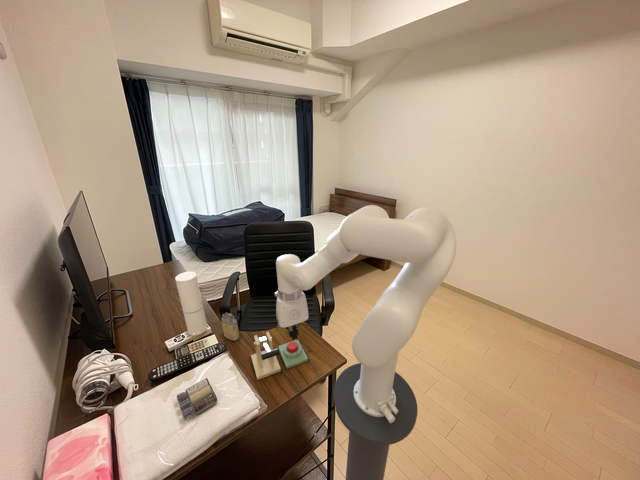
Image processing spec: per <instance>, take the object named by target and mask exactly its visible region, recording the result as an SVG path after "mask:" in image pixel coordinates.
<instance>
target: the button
mask: <svg viewBox="0 0 640 480" xmlns="http://www.w3.org/2000/svg"><path fill="white" fill-rule="evenodd" d="M287 343H288V345H287V350H288V352H290V353H294V352H296V351H297V343H296V342H292V341H289V342H287Z"/></svg>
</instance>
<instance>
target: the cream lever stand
mask: <svg viewBox="0 0 640 480" xmlns="http://www.w3.org/2000/svg"><path fill="white" fill-rule="evenodd" d="M265 337H266V338H267V342H268V347H269V349H270V350H274V346H273V337H272V336H271V333H270V331H266V332H265ZM253 340H254V342H253V346H254V348H255V353H254V354H250V359H251V362H252V365H253V366H252V367H253V369H254V374H255V376H256V380H257V381H258V380H259V381H260V380H262V379H264V378H267V377H269V376H272V375H275V374H277V373H279V372H281V371H282V368H281V365H280V363H279V360H278V358H277V356H274V357H271V358H268V359H265V360H262V358H261V354H263V353H266V351H265V350H263V351H261V349H262V348H261V346H260V342H259V337H258V335H257V334H255V335H253Z"/></svg>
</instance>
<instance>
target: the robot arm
mask: <svg viewBox="0 0 640 480" xmlns="http://www.w3.org/2000/svg"><path fill="white" fill-rule="evenodd" d="M325 243H326V244H325V245H324V246H323V247H321V249H319V250H318V251H317V252H316V253H314V254H313V255H311V256H309V257H308V258H307V259H305V260H304V261H302V262H301V259H300V257H299V256H297V255H295V254H292V253H288V254H287V253H286V254H283V255H280V256H278V257H277V258H276V261H275V268H276V278H277V279H276V280H277V291H276V292H273V295H274V297H275V298H276V303H275V307H276V308H275V316H276V320H277V323H276V327H277V328H278V329H286V330H288V336H289V338H291V339H292V341H295V340H298V336H299V329H300V326H301V325H302V323H304V322H306V321H307V320H308V319H309V309H308V308H309V307H308V302H307V301H308V300H307V297H306V294H305V293H304V291H309V290H311V289H312V288H313V287H315V286H316V285H317V284H319V282H320V281H321V280H322V279H324V278H325V277H326V276H327V275H329V274H330V273H331V272H333V270H335V269H336V268H337V267H340V265H341V264H348V263H350V262H351V261H352V260H354V259H355V258H357V257H358V256H359V255H362V256H367V257H370V258H375V259H376V258H377V259H383V260H388V261H394V262H399V263H404V264H403V267H402V268H401V270H400V271H399V273H397V275H396V277H395V278H394V280H393V281H392V282H391V283H390V284H389V285H388V286H387V287H386V288H385V290H384V291H383V292H382V293H381V295H380V297H379V298H378V299H377V302H376V303H375V304H374V306H373V307H372V309H371V310H370V311H369V313H368V314H367V315H366V317H365V318H364V320H363V321H362V323H361V325H360V326H359V328H358V329H357V331H356V332H355V333H354V336H353V337H352V341H351V348H352V353H353V355H354V357H355V359H356V360H357V362H358V363H361V373H360V379H359V380H358V381H357V383H356V384H355V386H354V399H355V402H356V404H357V405H358V407H359V408H360V409H361V410H362V411H363V412H365V413H366V414H368V415H371V416H374V417H384V416H385V417H386V418H387V420H388V421H389V422H390V423H393V422H394V421H395V417H394V416H393V414H392V413H391V412H392V411H393V412H394V414H397V413H398V412H399V411H398V409H397V408H396V407H395V404H396V395H395V392H394V390H393V382H394V375H395V372H396V369H397V363H398V358H399V352H400V351H402V349H403V348H404V347H405V346H406V345H407V344H408V342H409V341H410V340H411V338H412V337H413V335H414V333H415V331H416V329H417V327H418V325H419V322H420V319H421V316H422V313H423V311H424V308H425V306H426V305H427V303H428V301H429V300H430V299H431V297H432V296H433V295H434V294H435V293H436V291H437V290H438V289H439V287H440V285H442V284H443V282H444V280H445V279H446V277H447V276H448V274H449V273H450V271H451V268H452V266H453V263H454V261H455V256H456V253H457V236H456V232H455V230H454V227H453V225H452V223H451V221H450V219H449V218H448V216H447V215H446V214H445V213H444V212H443V211H441V210H440V209H438V208H436V207H433V206H422V207H419V208H417V209H414V210H413V211H411V212H410V213H409V214H407V216H406V217H404V218H403V219H401V218H390V216H389V214H388V212H387V211H386V210H385V209H384V208H382V207H381V206H378V205H374V204H369V205H365V206H363V207H361V208H359V209H357V210H356V211H353V212H352V213H350V214H348V215H347V216H346V217H345V218H344V219H343V220H342V222H341V224H340V226H339V227H338V228H337V229H335V230H334V231H333V232H332V233H331V234H330V235H329V236H327V239H326V241H325Z"/></svg>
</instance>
